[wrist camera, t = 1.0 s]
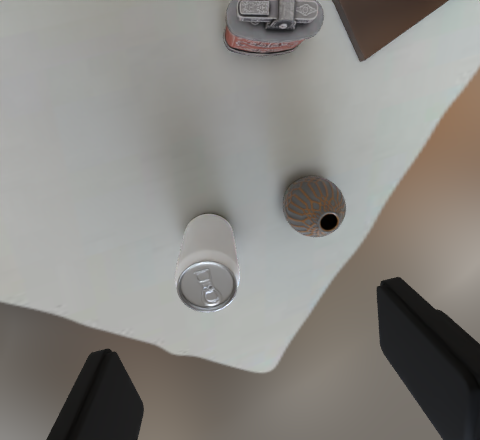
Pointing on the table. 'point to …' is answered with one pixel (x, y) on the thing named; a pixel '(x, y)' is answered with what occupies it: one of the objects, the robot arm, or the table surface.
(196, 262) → the can
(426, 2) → the walnut board
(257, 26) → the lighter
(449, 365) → the robot arm
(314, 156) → the table surface
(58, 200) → the table surface
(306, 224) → the vase
